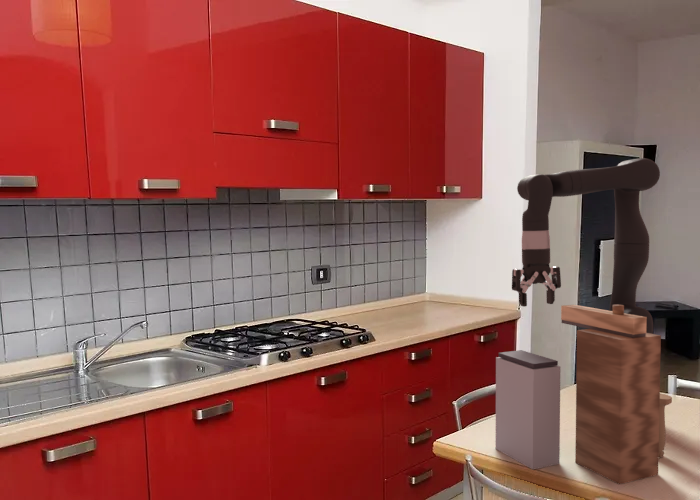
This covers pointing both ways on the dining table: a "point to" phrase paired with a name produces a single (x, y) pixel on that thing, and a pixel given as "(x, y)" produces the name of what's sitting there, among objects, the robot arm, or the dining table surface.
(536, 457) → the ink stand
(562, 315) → the stamp
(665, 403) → the handle
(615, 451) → the shelf block
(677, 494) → the dining table surface
